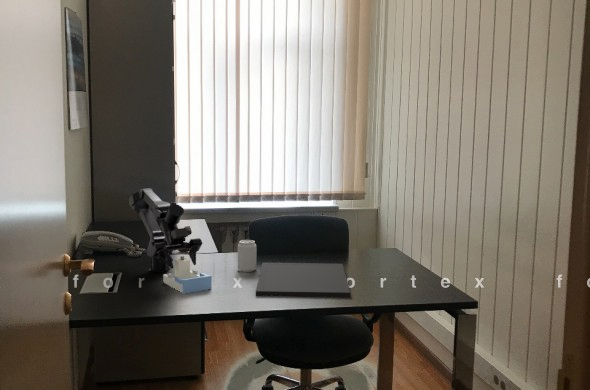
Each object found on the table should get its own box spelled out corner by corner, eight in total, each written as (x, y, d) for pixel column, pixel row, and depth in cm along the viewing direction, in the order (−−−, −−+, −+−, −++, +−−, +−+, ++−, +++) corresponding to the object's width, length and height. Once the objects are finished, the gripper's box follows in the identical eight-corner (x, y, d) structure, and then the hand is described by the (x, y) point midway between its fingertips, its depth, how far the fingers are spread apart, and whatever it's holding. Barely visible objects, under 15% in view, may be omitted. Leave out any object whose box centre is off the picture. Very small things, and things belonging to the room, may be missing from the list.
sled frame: (163, 282, 235) (163, 269, 234) (190, 278, 241) (190, 265, 240) (183, 294, 220) (183, 280, 220) (211, 289, 227) (211, 275, 226)
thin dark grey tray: (342, 269, 259) (262, 268, 259) (342, 263, 259) (262, 262, 259) (349, 299, 219) (255, 297, 219) (350, 292, 219) (255, 291, 219)
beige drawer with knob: (175, 283, 234) (174, 256, 232) (186, 281, 236) (185, 254, 235) (179, 285, 231) (178, 258, 230) (190, 283, 234) (190, 256, 232)
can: (253, 273, 249) (253, 243, 248) (235, 271, 251) (235, 242, 249) (258, 268, 256) (258, 239, 255) (240, 267, 258) (240, 238, 256)
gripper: (153, 221, 228) (166, 257, 221) (200, 217, 239) (213, 251, 232) (145, 239, 236) (157, 274, 228) (191, 234, 246) (204, 267, 239)
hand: (184, 266), depth 232 cm, fingers open, 9 cm apart
